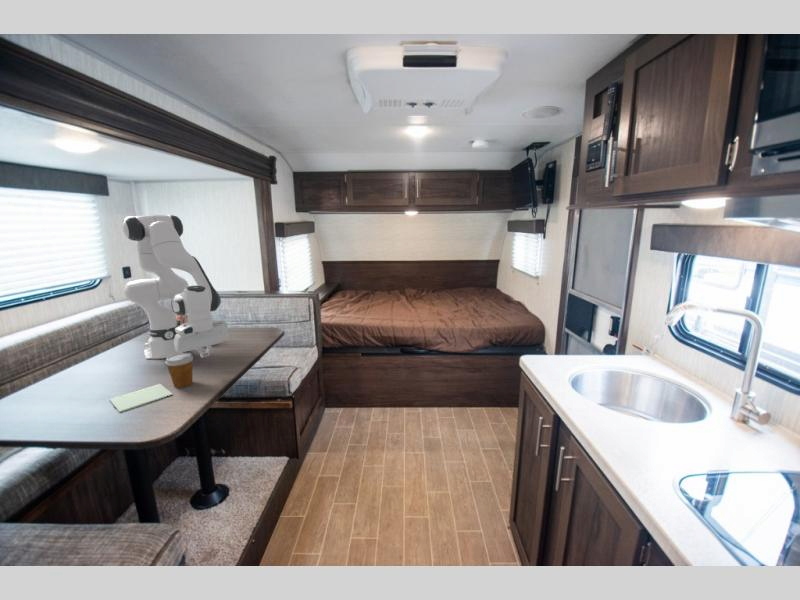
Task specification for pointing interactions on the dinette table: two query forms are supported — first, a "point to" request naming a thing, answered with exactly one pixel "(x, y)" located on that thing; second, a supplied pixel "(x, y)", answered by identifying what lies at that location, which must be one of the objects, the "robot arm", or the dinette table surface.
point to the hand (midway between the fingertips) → (205, 356)
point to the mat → (139, 397)
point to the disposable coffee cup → (180, 369)
